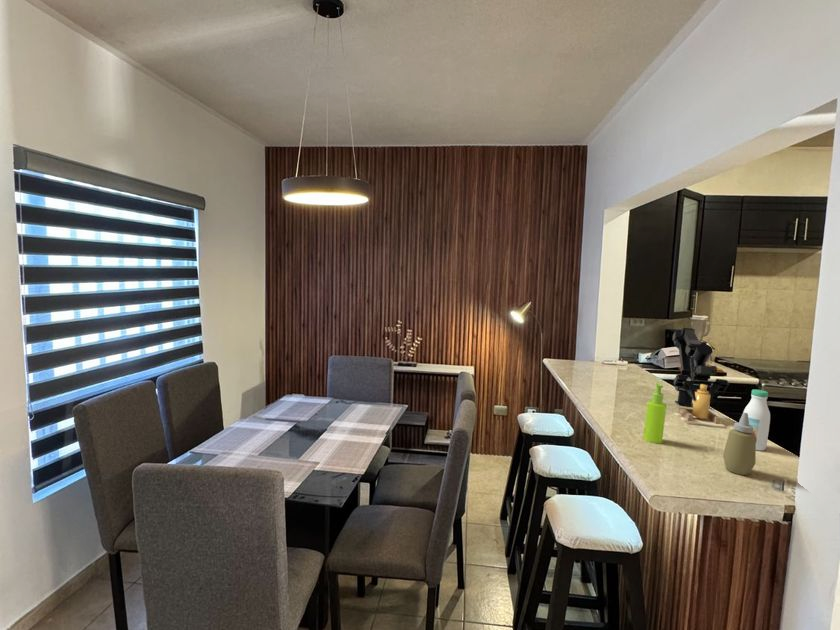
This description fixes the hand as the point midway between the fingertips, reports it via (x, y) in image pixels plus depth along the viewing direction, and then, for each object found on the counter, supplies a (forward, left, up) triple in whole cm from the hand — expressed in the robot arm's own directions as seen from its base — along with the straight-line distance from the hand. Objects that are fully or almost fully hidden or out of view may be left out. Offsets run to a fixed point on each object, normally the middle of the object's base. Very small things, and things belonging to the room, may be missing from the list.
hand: (702, 401), depth 184 cm
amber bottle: (-1, 0, -7) cm, 7 cm away
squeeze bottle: (+50, -9, -9) cm, 51 cm away
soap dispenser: (+30, -27, -9) cm, 41 cm away
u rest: (-1, 0, -8) cm, 9 cm away
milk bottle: (+25, +7, -9) cm, 27 cm away
